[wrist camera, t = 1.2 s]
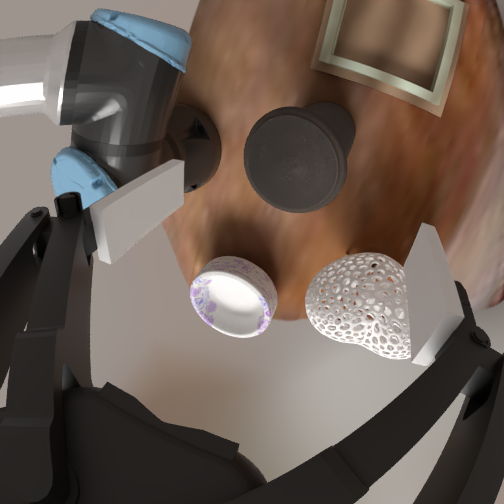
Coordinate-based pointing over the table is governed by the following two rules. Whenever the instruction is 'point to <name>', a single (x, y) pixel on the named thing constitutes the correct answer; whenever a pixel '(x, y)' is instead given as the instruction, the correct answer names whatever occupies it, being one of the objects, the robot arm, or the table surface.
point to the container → (299, 155)
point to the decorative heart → (362, 303)
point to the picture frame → (394, 46)
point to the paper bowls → (234, 296)
